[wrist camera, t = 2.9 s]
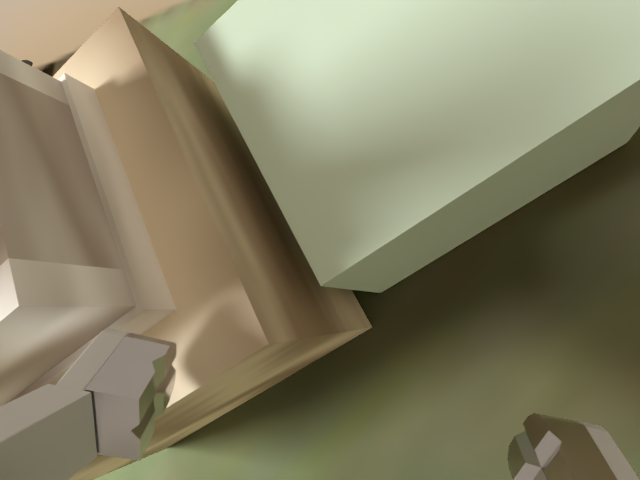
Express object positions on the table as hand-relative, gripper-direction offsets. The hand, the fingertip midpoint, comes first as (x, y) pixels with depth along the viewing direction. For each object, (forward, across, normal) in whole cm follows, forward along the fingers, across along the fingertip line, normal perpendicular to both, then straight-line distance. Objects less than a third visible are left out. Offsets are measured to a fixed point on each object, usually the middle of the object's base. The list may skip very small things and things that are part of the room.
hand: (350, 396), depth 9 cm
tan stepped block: (+10, +6, +5) cm, 12 cm away
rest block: (+11, -2, -4) cm, 12 cm away
